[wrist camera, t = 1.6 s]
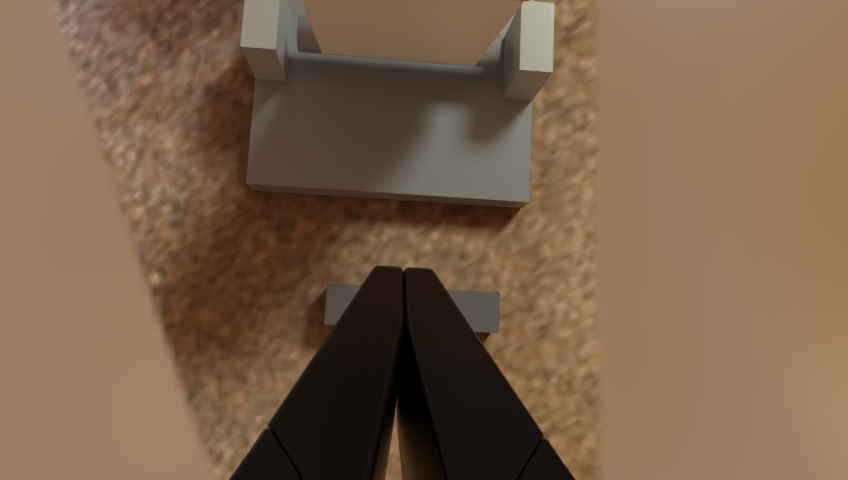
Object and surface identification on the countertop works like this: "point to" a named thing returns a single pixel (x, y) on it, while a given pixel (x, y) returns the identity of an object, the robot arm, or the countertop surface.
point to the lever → (407, 29)
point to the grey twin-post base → (393, 116)
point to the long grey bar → (472, 304)
